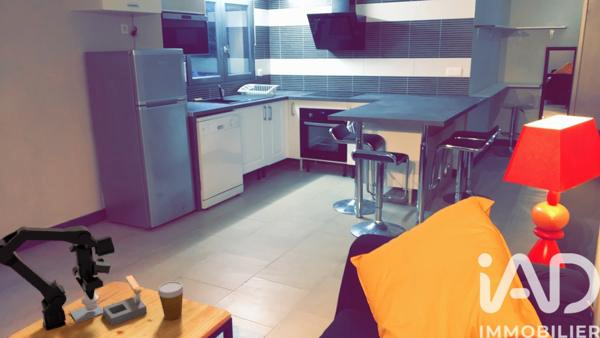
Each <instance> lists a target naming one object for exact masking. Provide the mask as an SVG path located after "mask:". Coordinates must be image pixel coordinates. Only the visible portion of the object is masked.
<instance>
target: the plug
mask: <svg viewBox="0 0 600 338" xmlns="http://www.w3.org/2000/svg"><path fill="white" fill-rule="evenodd" d="M82 294H83V297H82V298H81V304H82V305H84V307H85V308H86V310H87V311H91V310H94V309H96V308H97V304H98V302H99V301H100V297H99V294H96V291H95V292H94V297H93V299H92V300H90V299H89V297H88V296H87V294H86V293H85V291H83V293H82Z"/></svg>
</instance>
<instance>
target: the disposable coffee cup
mask: <svg viewBox="0 0 600 338" xmlns="http://www.w3.org/2000/svg"><path fill="white" fill-rule="evenodd" d="M184 289H185V287H184V285H183V283H182V282H180V281H176V280H174V281H172V280H171V281H166V282H164V283H161V284H160V285H159V287H158V289H157V293H158V296H159V300H160V303H161V308H162V311H163V312H162V313H163V316H164V318H165V319H166V320H168V321H170V320H171V321H174V320H177V319H179V318H180V317H182V313H183V311H182V310H183V298H184V297H183V294H184V291H185V290H184Z"/></svg>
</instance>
